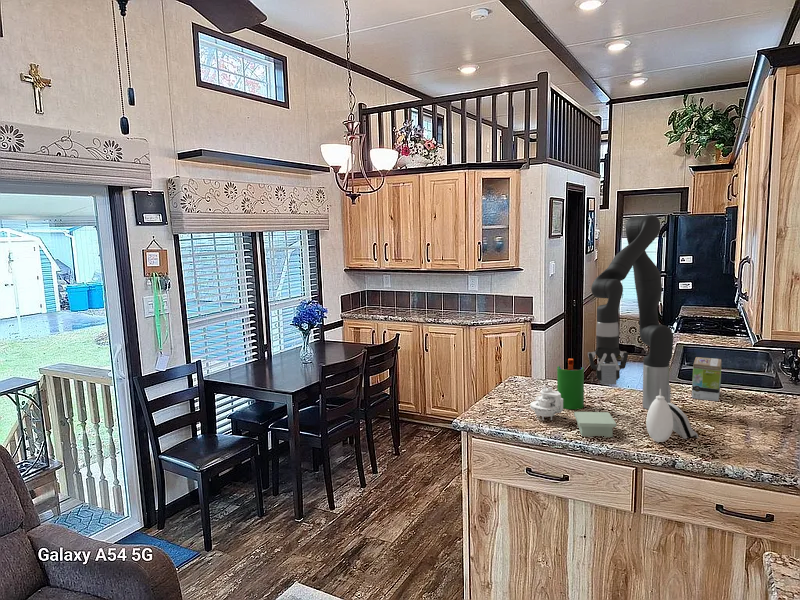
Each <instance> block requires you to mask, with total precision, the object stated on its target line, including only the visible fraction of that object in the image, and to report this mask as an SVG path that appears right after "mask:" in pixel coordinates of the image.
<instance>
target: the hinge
mask: <svg viewBox="0 0 800 600" xmlns="http://www.w3.org/2000/svg"><path fill="white" fill-rule="evenodd" d="M668 405H669V407H670V410H671V412H672V416H673V430H672V432H675V433H676V434H677V435H679V437H681V438H682V439H688V438H689V437H695V438H696V439H699V435H698V433H697V432H696V431H694V429H693V428H692V426H691V423H690V421H689V419H688V416H687V414H685V413H684V412H683V410H681V409H680V408H679V406H677V405H676V404H674V403H673V402H670V403H668Z"/></svg>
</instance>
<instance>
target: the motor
mask: <svg viewBox="0 0 800 600" xmlns="http://www.w3.org/2000/svg"><path fill="white" fill-rule="evenodd" d="M567 363H568V364H567V368H566V369H564V368H561V366H560V365H559V366H557V368H556V369H557V371H556V373H557V378H556V379H557V380H556V381H557V382H556V383H557V386H556V387H557V388H556V391H558V392H559V393H561V398H563V410H581V409H583V408H584V407H585V398H584V397H585V390H584V388H585V385H584V382H585V378H584V377H585V373H584V372H585V370H584V369H585V368H584V367H580V369H574V358H568V359H567Z"/></svg>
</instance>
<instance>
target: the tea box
mask: <svg viewBox="0 0 800 600" xmlns="http://www.w3.org/2000/svg"><path fill="white" fill-rule="evenodd" d="M692 365H693V366H692V384H691V398H692V399H697V400H705V401H713V402H718V401H719V400H720V396H721V395H720V394H721V383H722V359H721V358H712V357H711V358H710V357H699V356H696V357H695V359H694V361H693V364H692Z"/></svg>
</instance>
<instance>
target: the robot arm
mask: <svg viewBox="0 0 800 600" xmlns="http://www.w3.org/2000/svg"><path fill="white" fill-rule="evenodd" d="M660 221H661V220H660V219H659V218H658V216H656V215H654V214H646V215H639V216H633V217H629V218H628V219H627V221H626V223H625V236H626V240H627V243H628V244H627V246H625V247H623V248H622V249H621V250H620V251H619V252H617V253H616V255H615V256H614V257H613V259H612V260H611V262H610V264H609V265H608V266H607V268H606V269H605V270H604V271H602V272H601V273H600V274H599V275H598V276H596V278H595V279H594V280H593V282H592V284H591V294H592V295H593V296H594V297H596V298H598V299H607V302H606V304H601V305H598V306H597V307H596V327H595V328H596V329H595V332H596V333H595V335H596V343H595V344H596V345H595V346H596V348H595V351H591V352H590V351H587V358H588V360H589V365H590V368H591V369H592V370H595V373H596V374H595V375H596V376H595V377H596V379H597V380H598V381H599V382H600V381H601V364H603V363H604V362H613V363H616V381H618V380H619V379H620V374H621V373H620V370H622V369H625V368H626V364H627V360H628V356H629V353H628V352H627V351H625V350H624V351H621V350H620V347H619V346H620V343H619V342H620V341H619V340H620V339H619V336H620V335H619V334H620V330H619V322H618V320H619V319H618V318H619V313H618V312H619V307H620V304H621V299H622V297H623V291H624V286H623V283H622V282H621V281H624V280H625V279H626V277H627V276H628V275H629V272H630V271H631V269H633V278H634V286H635V293H636V298H637V305H638V306H637V308H638V315H639V318H638V320H639V321H638V323H639V325H638V327H639V337H640V340H641V341H642V343H643V344H645V345H646V346H648V347H649V352H648V354H647V355H645V356H644V357H643V361H642V362H643V365H642V408H643V409H645V410H649V408H650V406H651V404H652V402H653V401H654V400H655V399H656V396H659V393H660V389H661V396H664V397H665V400H666V402H667V403H672V402H671V400H672V399H671V393H672V387H671V386H672V385H670V363H671V361H672V358H673V351H674V334H673V331H672V329H671V328H670V327H669V326H667V325H663V324H661V323H660V321H659V315H658V314H659V312H658V306H659V303H660V300H661V296H662V292H663V284H662V276H661V272H660V270H659V268H658V266H656V264H655V263H654V262H653V261H652V259H651V258H650V257H649V255H648V254H647V252H646V250H647V248H649V246H651V244H652V243H653V242H654V241H655V239H657V238H658V236H659V234H660V231H661V226H662V225H661V222H660ZM619 355H620V357H621V359H620V364H619V363H618V360H617V358H618V357H619ZM595 356H597V358H599V359H598V360H597V364H595V360H594V358H595Z"/></svg>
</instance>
